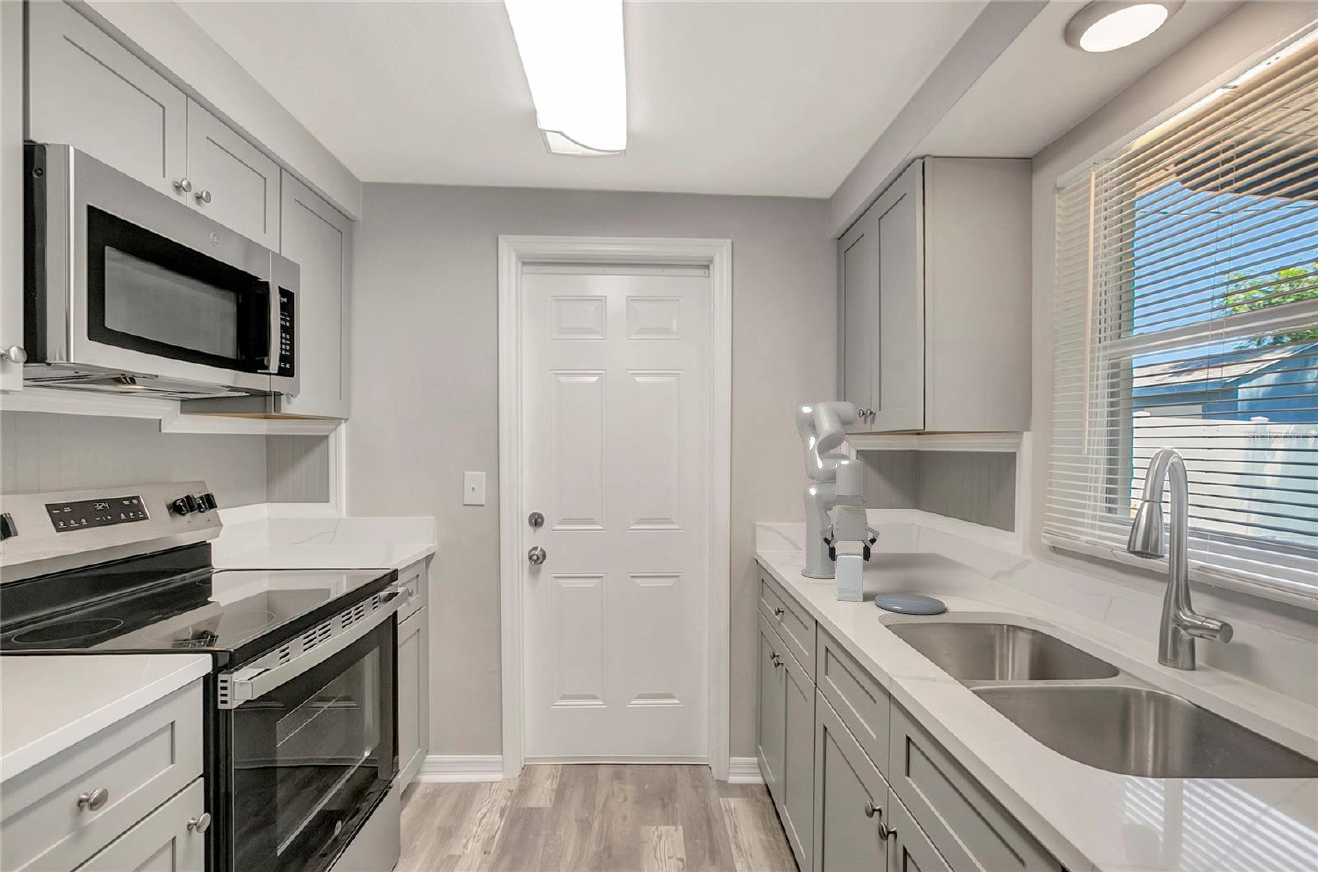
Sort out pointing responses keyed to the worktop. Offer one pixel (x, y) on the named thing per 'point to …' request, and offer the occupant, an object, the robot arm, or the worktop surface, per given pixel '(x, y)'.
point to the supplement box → (849, 577)
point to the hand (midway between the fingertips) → (849, 560)
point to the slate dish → (909, 603)
